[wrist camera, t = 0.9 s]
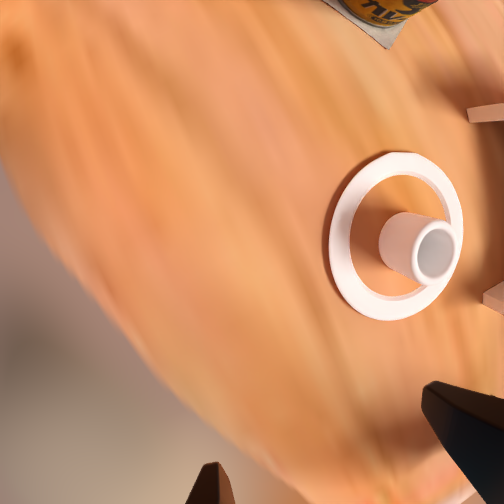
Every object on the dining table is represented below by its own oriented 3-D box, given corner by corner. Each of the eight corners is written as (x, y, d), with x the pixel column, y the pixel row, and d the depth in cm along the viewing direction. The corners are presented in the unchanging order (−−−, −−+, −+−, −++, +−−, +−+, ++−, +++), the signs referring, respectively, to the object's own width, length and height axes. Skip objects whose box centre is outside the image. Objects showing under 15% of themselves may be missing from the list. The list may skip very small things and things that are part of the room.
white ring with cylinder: (386, 118, 19) (424, 108, 15) (475, 220, 22) (512, 228, 18) (288, 263, 20) (310, 284, 16) (401, 340, 23) (431, 366, 19)
